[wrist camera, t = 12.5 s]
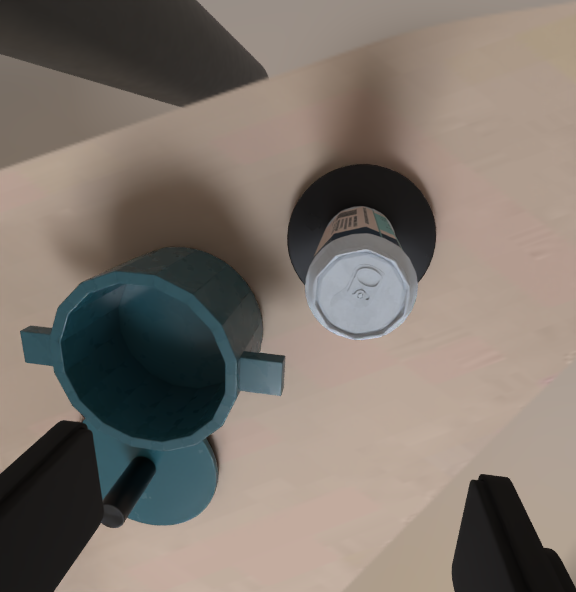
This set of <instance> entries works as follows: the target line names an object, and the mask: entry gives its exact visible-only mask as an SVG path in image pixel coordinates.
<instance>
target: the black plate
mask: <svg viewBox="0 0 576 592" xmlns="http://www.w3.org/2000/svg"><path fill="white" fill-rule="evenodd" d="M358 206H364V207H368V208H371V209H375V210H376V211H378V212H380V213H382V214H383V215H384V216H385V217H386V218H387V219H388V220H389V222H390V223H391V225H392V227H393V230H394V233H395V236H396V237H397V239H398V241H399V243H400V245H401V247H402V249H403V251H404V253H405V254H406V255H407V256H408V257H409V259H410V261H411V263H412V265H413V267H414V269H415V272H416V276H417V282H419V281H420V280H421V278H422V277H423V276H424V274H425V272H426V271H427V269H428V267H429V265H430V262H431V260H432V257H433V253H434V249H435V242H436V227H435V221H434V217H433V214H432V210H431V208H430V206H429V204H428V202H427V200H426V198H425V197H424V195H423V194H422V192H421V191H420V190H419V189H418V188H417V187H416V186H415V185H414V184H413V183H412V182H411V181H410V180H409V179H407V178H406V177H404V176H403V175H401V174H399V173H398V172H396V171H393V170H391V169H388V168H385V167H381V166H378V165H370V164H356V165H350V166H345V167H342V168H338V169H336V170H334V171H331V172H329V173H327V174H326V175H324V176H322V177H321V178H319V179H318V180H317V181H315V182H314V183H313V184H312V185H311V186H310V187H309V188H308V189H307V190H306V191H305V192H304V193H303V195H302V196H301V197H300V199H299V200H298V202H297V204H296V206H295V208H294V210H293V213H292V215H291V218H290V222H289V226H288V235H287V240H288V251H289V256H290V259H291V263H292V265H293V267H294V270H295V272H296V273H297V275H298V277H299V278H300V280H301V281H302V282H303V284H304V285H305V283H306V276H307V272H308V269H309V266H310V264H311V261H312V259H313V257H314V254H315V252H316V250H317V248H318V245H319V243H320V241H321V238H322V236H323V234H324V232H325V229H326V227H327V226H328V224H329V222H330V221H331V220H332V219H333V218H334V217H335V216H336V215H337V214H338V213H340V212H341V211H343V210H345V209H348V208H352V207H358Z"/></svg>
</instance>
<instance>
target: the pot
mask: <svg viewBox="0 0 576 592" xmlns="http://www.w3.org/2000/svg"><path fill="white" fill-rule="evenodd" d="M20 334H21V339H22V345H23V351H24V357H25V362H26V363H34V364H41V365H49V366H53V367H54V373H55V375H56V377H57V378H58V380H59V382H60V384H61V386H62V388H63V389H64V391H65V393H66V395H67V397H68V399H69V400H70V402H71V404H72V406H73V407H75V408H76V409H77V410H78V411H79V412H80V413H81V414H82V415H83V416H84V417H85V418H86V419H87V420H88V421H89V422H90V423H91V424H92V425H93V426H94V427H95V428H96V429H98V430H99V431H101V432H103V433H105V434H107V435H109V436H111V437H113V438H115V439H117V440H119V441H121V442H123V443H125V444H127V445H129V446H133V447H139V448H146V449H152V450H158V451H169V450H174V449H178V448H183V447H188V446H193V445H196V444H198V443H200V442H201V441H202V440H204V439H205V438H206V437H208V436H209V435H211V434H212V433H213V432H215V431H216V430H217V429H219V428H220V427H222V426H223V424H224V422H225V420H226V418H227V416H228V414H229V412H230V410H231V408H232V406H233V404H234V402H235V400H236V398H237V396H238V394H239V392H240V391H247V392H254V393H262V394H270V395H277V396H281V395H282V391H283V388H284V372H285V356H283V355H274V354H266V353H259V352H260V349H261V343H262V335H263V327H262V318H261V312H260V309H259V306H258V303H257V301H256V299H255V296H254V294H253V293H252V291H251V289H250V288H249V286H248V284H247V283H246V282H245V281H244V280H243V278H242V277H241V276H240V275H239V274H238V273H237V272H236V271H235V270H234V269H233V268H232V267H230V266H229V265H228V264H226V263H225V262H224V261H222V260H220V259H219V258H217V257H215V256H213V255H211V254H208V253H206V252H203V251H200V250H196V249H192V248H185V247H170V248H168V247H166V248H162V249H159V250H156V251H153V252H150V253H148V254H145V255H142V256H139V257H137V258H134V259H132V260H130V261H128V262H125V263H123V264H121V265H119V266H117V267H114V268H112V269H110V270H108V271H105V272H103V273H101V274H99V275H97V276H94V277H92V278H90V279H88V280H85V281H83V282H82V283H80V284H79V285H78V286H77V287H76V289H75V290H74V291H73V292H72V293H71V294H70V295H69V296H68V297H67V298H66V299H65V300H64V301H63V302H62V303H61V304H60V306H59V307H58V309H57V313H56V316H55V320H54V323H53V327H52V328H46V327H38V326H29V327H27V328H25V329H23V330H21V331H20Z"/></svg>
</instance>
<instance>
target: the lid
mask: <svg viewBox="0 0 576 592" xmlns="http://www.w3.org/2000/svg"><path fill="white" fill-rule="evenodd" d="M82 423H85V424H86V425H87V427H88V429H89V430H91V431H92V433H93V439H94V446H95V452H96V459H97V466H98V473H99V480H100V487H101V493H102V500H103V507H104V514H103V518H102V521H101V523H102V524H103V525H105V526H107V527H110V528H118V527H120V526H122V525H123V523H124V522H125V520H126V519H127V518H129V519H132V520H135V521H138V522H141V523H145V524H151V525H175V524H179V523H183V522H186V521H188V520H190V519H192V518H194V517H196V516H197V515H199V514H200V513H201V512H202V511H203V510H204V509H205V508H206V507H207V506H208V504H209V503H210V501H211V499H212V497H213V495H214V493H215V490H216V487H217V482H218V467H217V462H216V458H215V455H214V452H213V450H212V448H211V446H210V444H209V442H208V441H207V439H206V438H205V439H204V440H202V441H201V442H200V443H198V444H196V445H193V446H188V447H183V448H178V449H174V450H169V451H158V450H152V449H146V448H139V447H133V446H129V445H127V444H125V443H123V442H121V441H119V440H117V439H115V438H113V437H111V436H109V435H107V434H105V433H103V432H101V431H99V430H98V429H96V428H95V427H94V426H93V425H92V424H91V423H90V422H89V421H88V420H87V419H86V418H85V419H84V421H83V422H82Z"/></svg>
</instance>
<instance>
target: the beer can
mask: <svg viewBox="0 0 576 592" xmlns="http://www.w3.org/2000/svg"><path fill="white" fill-rule="evenodd" d="M417 290H418V282H417V276H416V272H415V269H414V267H413V265H412V263H411V261H410V259H409V257H408V256H407V255H406V254H405V253H404V251H403V249H402V247H401V245H400V243H399V241H398V239H397V237H396V236H395V233H394V230H393V227H392V225H391V223H390V222H389V220H388V219H387V218H386V217H385V216H384V215H383V214H382V213H380V212H378V211H376V210H375V209H371V208H368V207H364V206H358V207H352V208H348V209H345V210H343V211H341V212H340V213H338V214H337V215H336V216H335V217H334V218H333V219H332V220H331V221H330V222H329V224H328V226H327V227H326V229H325V232H324V234H323V236H322V238H321V241H320V243H319V245H318V248H317V250H316V252H315V254H314V257H313V259H312V261H311V264H310V266H309V269H308V272H307V276H306V283H305V293H306V298H307V302H308V305H309V308H310V309H311V311H312V313H313V314H314V316H315V318H316V319H317V320H318V321H319V322H320V323H321V324H322V325H323V326H324V327H325V328H326V329H328V330H329V331H331V332H333V333H334V334H336V335H339V336H342V337H345V338H348V339H353V340H365V339H372V338H378V337H381V336H383V335H386V334H388V333H390V332H391V331H393V330H394V329H396V328H397V327H398V326H399V325H401V324H402V323H403V322H404V321H405V319H406V318H407V316H408V315H409V314H410V312H411V311H412V308H413V306H414V303H415V301H416V297H417Z"/></svg>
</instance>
